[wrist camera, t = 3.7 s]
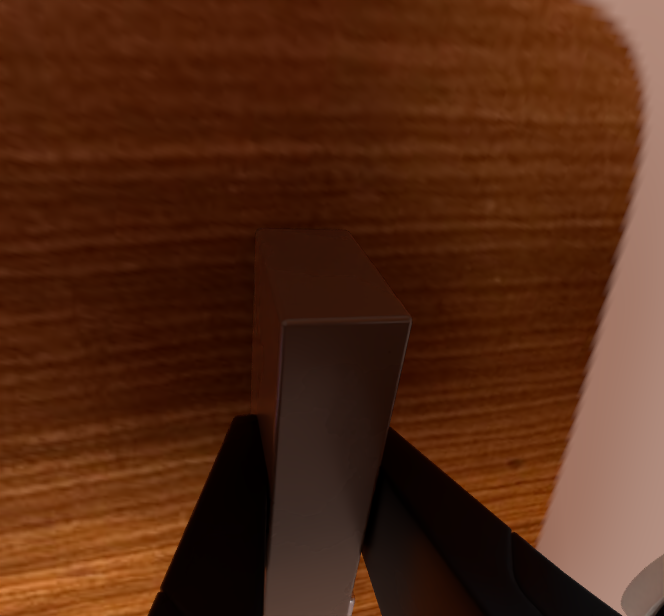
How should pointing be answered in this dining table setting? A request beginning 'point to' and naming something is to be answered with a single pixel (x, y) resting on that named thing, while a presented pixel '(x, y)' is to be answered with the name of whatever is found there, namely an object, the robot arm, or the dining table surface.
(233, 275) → the dining table surface
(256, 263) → the fork
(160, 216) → the dining table surface
